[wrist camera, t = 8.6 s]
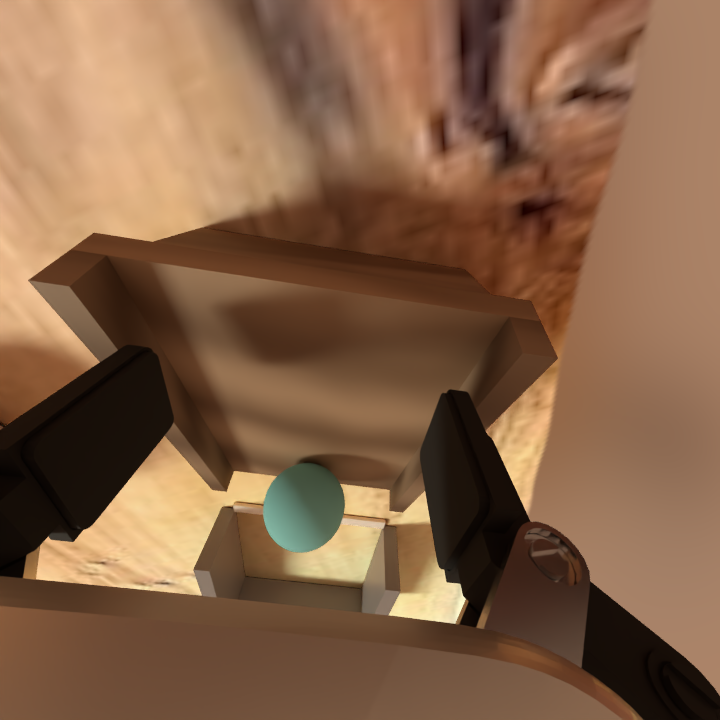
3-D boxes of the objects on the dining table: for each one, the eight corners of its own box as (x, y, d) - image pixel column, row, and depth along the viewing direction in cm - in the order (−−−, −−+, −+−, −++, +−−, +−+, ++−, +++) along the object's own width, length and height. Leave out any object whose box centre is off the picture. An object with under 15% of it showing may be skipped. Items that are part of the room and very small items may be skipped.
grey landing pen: (220, 500, 26) (191, 563, 22) (398, 521, 27) (403, 586, 22) (235, 580, 34) (216, 636, 30) (369, 594, 35) (369, 651, 31)
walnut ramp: (189, 214, 14) (13, 248, 7) (478, 260, 14) (573, 333, 8) (226, 462, 23) (166, 579, 16) (400, 484, 24) (411, 604, 17)
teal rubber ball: (276, 486, 22) (275, 442, 19) (343, 494, 22) (351, 452, 19) (253, 562, 18) (247, 520, 15) (336, 571, 18) (345, 532, 15)
